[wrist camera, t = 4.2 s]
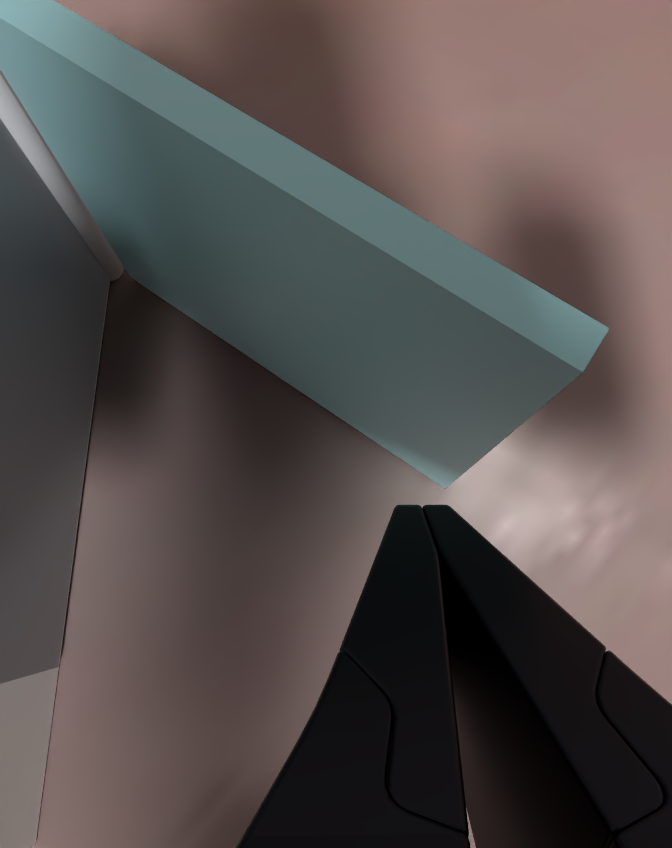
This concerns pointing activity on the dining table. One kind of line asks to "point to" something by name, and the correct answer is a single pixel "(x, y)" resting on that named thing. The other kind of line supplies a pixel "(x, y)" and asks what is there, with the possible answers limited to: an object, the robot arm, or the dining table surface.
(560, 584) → the dining table surface
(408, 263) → the hatch
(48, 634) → the case
